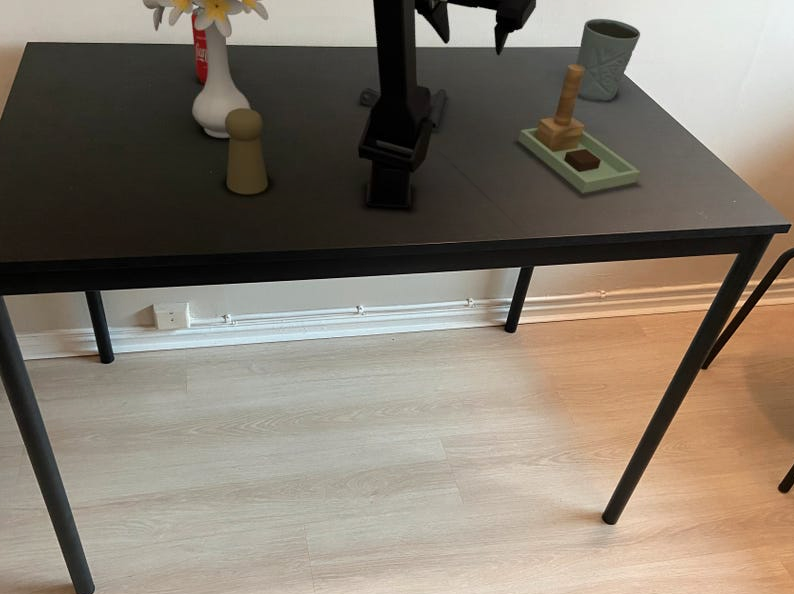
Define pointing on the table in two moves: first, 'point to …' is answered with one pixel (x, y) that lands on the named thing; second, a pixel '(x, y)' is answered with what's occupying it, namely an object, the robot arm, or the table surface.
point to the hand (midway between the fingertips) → (472, 47)
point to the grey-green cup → (605, 56)
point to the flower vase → (212, 56)
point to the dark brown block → (582, 160)
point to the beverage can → (200, 49)
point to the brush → (563, 116)
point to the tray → (605, 176)
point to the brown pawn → (245, 152)
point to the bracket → (435, 103)
